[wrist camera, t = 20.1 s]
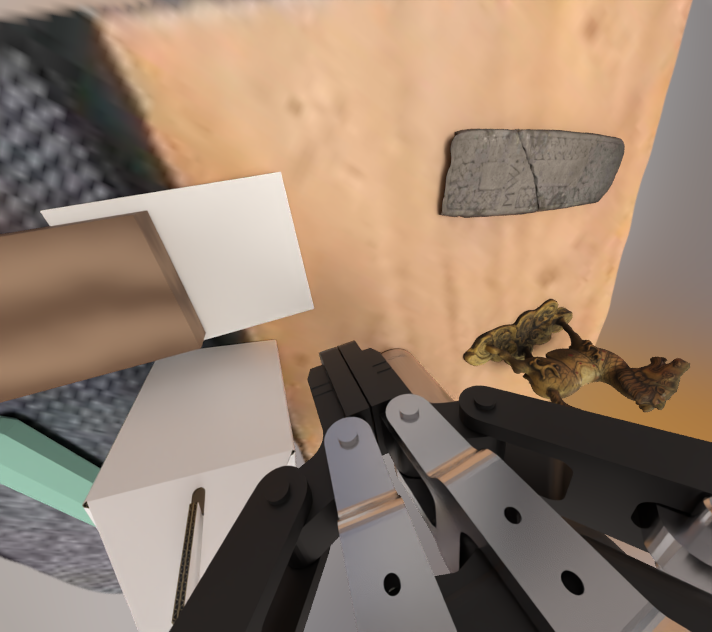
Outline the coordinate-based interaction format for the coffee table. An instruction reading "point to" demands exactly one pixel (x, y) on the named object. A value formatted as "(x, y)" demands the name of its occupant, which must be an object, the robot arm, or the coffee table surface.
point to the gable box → (188, 470)
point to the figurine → (573, 361)
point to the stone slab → (527, 171)
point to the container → (44, 469)
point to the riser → (222, 247)
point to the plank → (88, 303)
